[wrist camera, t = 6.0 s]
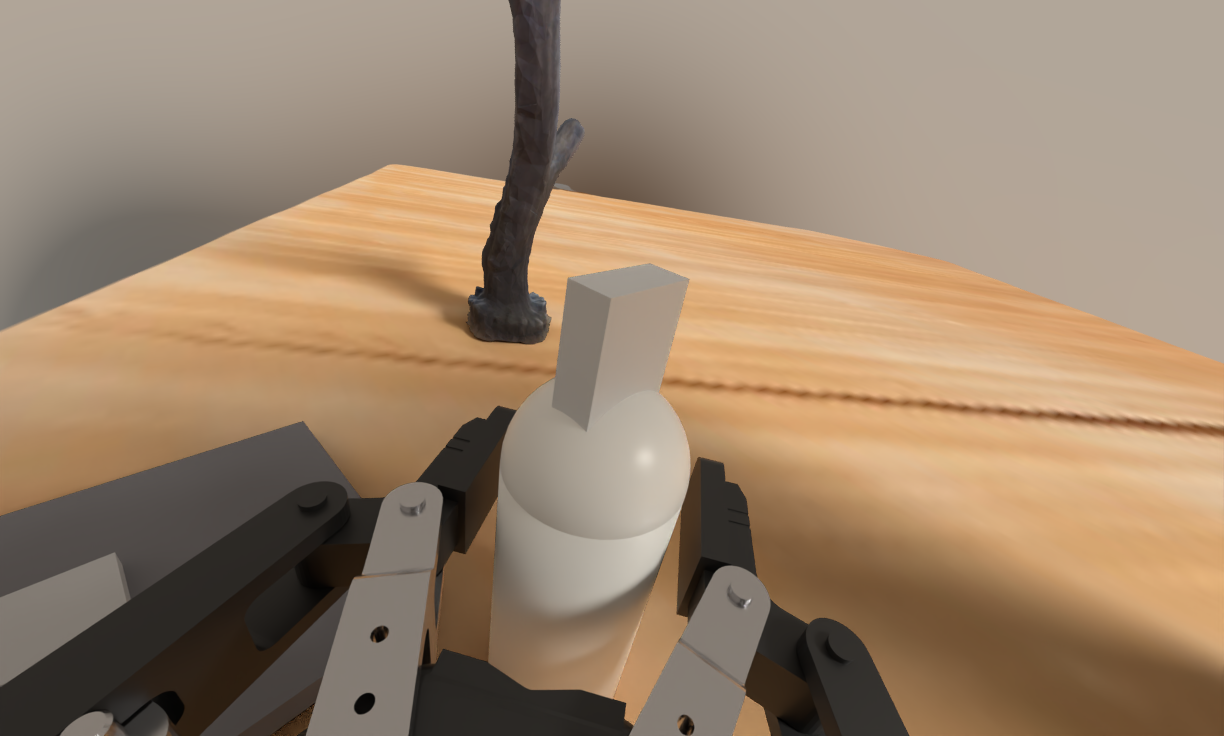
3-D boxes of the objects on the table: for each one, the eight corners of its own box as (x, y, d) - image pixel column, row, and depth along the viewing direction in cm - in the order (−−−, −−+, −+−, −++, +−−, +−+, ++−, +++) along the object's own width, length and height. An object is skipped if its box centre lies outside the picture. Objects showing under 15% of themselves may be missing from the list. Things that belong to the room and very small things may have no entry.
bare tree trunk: (471, 302, 39) (477, -79, 26) (559, 309, 40) (602, -42, 28) (456, 368, 29) (453, -184, 17) (572, 374, 31) (646, -117, 19)
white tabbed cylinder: (559, 576, 17) (619, 237, 11) (644, 662, 15) (788, 301, 8) (460, 658, 14) (459, 253, 8) (550, 783, 12) (660, 360, 5)
